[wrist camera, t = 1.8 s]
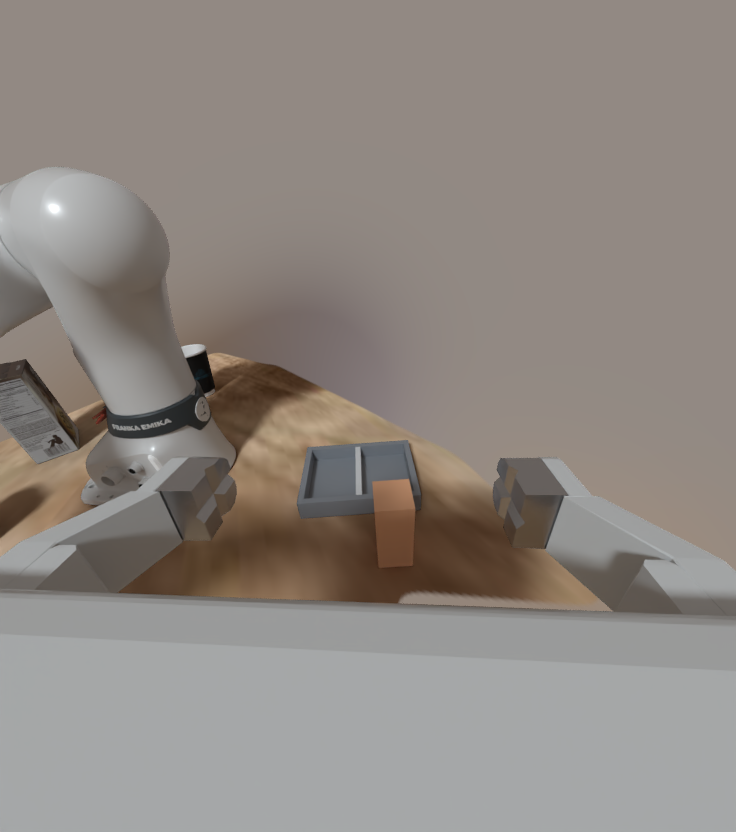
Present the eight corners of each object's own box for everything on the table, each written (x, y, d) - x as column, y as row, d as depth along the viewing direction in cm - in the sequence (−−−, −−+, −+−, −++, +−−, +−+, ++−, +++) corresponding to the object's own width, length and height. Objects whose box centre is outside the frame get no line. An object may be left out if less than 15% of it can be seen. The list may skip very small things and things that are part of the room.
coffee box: (39, 442, 60) (-24, 368, 51) (79, 429, 63) (26, 357, 54) (35, 465, 54) (-37, 386, 45) (80, 449, 57) (21, 372, 48)
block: (378, 568, 35) (374, 511, 29) (376, 537, 38) (372, 481, 33) (412, 565, 35) (415, 508, 29) (407, 535, 38) (409, 478, 33)
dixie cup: (209, 401, 70) (191, 357, 64) (179, 400, 71) (158, 357, 65) (228, 385, 76) (213, 344, 70) (199, 385, 78) (182, 344, 71)
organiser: (300, 518, 41) (296, 504, 39) (310, 461, 51) (307, 447, 49) (420, 509, 41) (421, 494, 40) (407, 454, 51) (407, 440, 49)
